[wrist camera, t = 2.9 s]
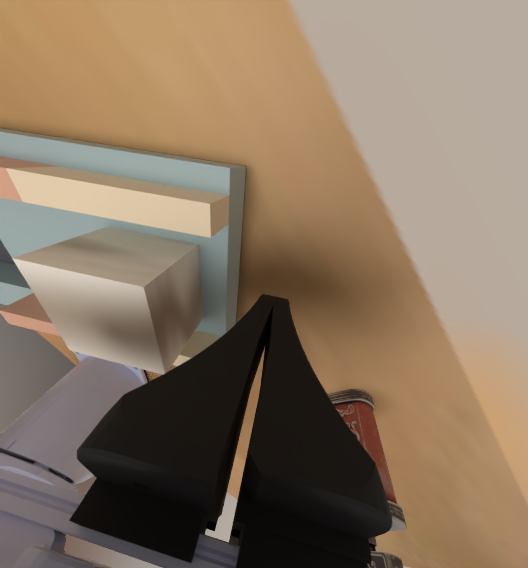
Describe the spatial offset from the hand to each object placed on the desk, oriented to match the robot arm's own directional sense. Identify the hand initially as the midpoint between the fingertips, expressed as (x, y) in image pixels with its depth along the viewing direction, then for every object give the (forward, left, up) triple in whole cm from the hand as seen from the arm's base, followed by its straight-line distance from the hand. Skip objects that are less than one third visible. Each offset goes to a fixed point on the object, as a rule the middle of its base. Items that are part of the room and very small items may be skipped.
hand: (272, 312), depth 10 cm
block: (0, +7, -1) cm, 7 cm away
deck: (0, +14, -3) cm, 14 cm away
